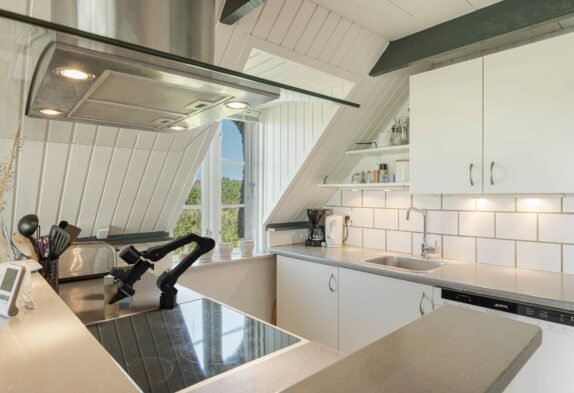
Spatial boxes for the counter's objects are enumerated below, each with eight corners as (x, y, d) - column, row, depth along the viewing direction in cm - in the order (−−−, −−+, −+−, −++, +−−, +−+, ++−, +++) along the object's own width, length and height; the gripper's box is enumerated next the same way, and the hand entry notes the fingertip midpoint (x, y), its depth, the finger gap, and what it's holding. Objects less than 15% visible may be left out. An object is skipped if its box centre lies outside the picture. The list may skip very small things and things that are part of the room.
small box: (113, 299, 165) (113, 277, 165) (103, 298, 166) (103, 276, 166) (124, 294, 173) (124, 273, 173) (114, 293, 174) (114, 272, 174)
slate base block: (133, 303, 162) (133, 296, 162) (128, 309, 154) (129, 302, 154) (114, 303, 160) (115, 297, 160) (109, 309, 152) (109, 303, 152)
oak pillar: (116, 313, 147) (117, 283, 147) (119, 317, 143) (119, 286, 143) (103, 315, 144) (104, 284, 144) (105, 319, 140) (106, 288, 140)
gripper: (118, 255, 153) (89, 284, 147) (127, 264, 138) (95, 296, 132) (137, 271, 158) (109, 299, 152) (147, 281, 143) (117, 312, 136)
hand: (107, 301), depth 143 cm, fingers open, 7 cm apart
